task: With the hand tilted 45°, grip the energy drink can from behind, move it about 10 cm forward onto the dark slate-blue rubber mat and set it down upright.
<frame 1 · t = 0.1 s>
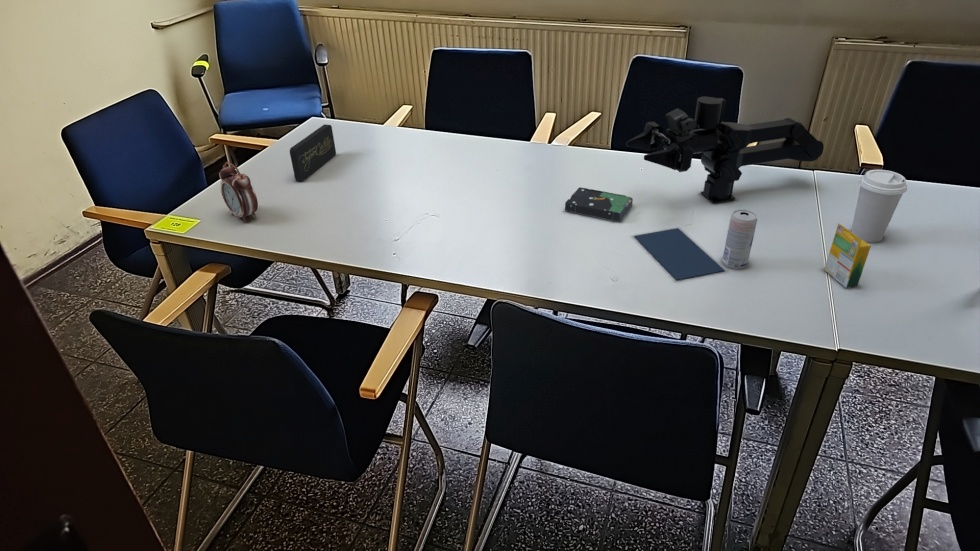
hand: (635, 150, 158), 17 cm above the table, tool horizontal, fingers open, 9 cm apart
alarm clock: (245, 217, 171), on the table
crayon box: (840, 278, 139), on the table
coffee cup: (865, 236, 153), on the table
energy drink: (734, 264, 145), on the table
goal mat: (677, 253, 149), on the table
nameplate: (317, 168, 196), on the table
disk drive: (598, 209, 169), on the table
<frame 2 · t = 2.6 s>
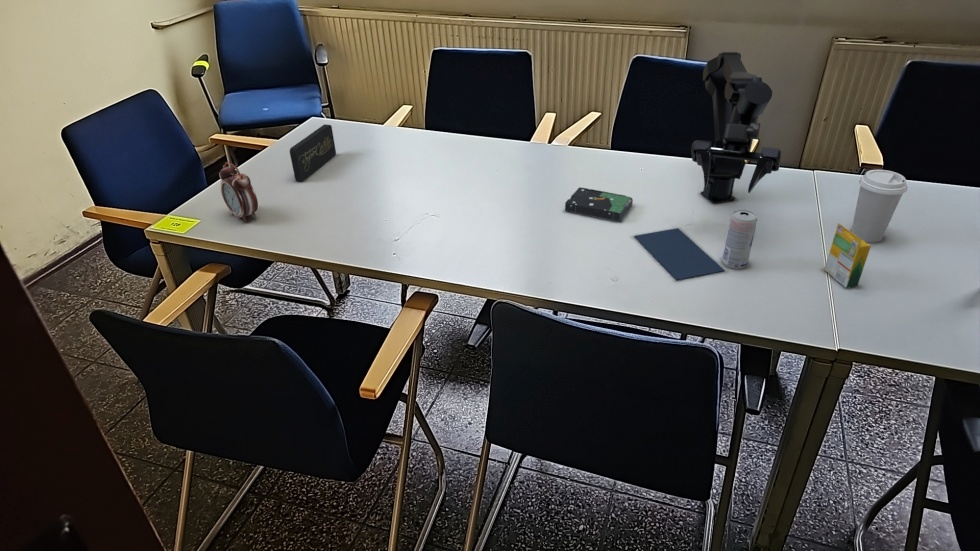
hand: (726, 189, 144), 14 cm above the table, tool tilted 50°, fingers open, 9 cm apart
nothing on the table moved.
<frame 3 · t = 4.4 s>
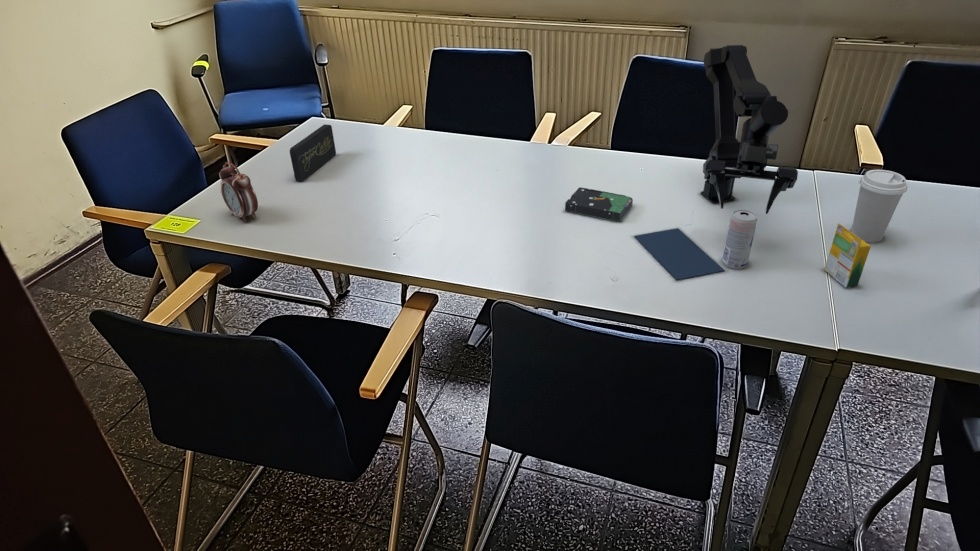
hand: (744, 210, 142), 11 cm above the table, tool tilted 45°, fingers open, 9 cm apart
nothing on the table moved.
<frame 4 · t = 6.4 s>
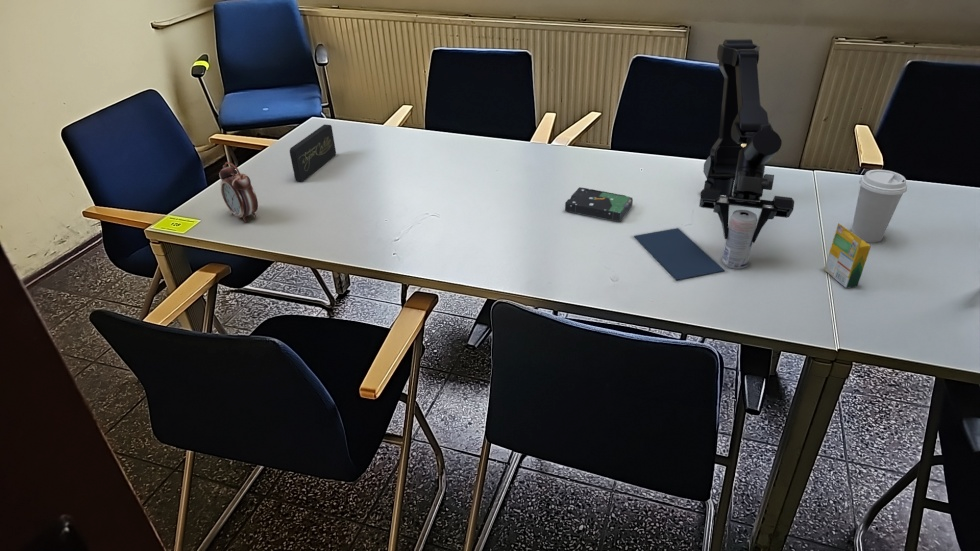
hand: (739, 240, 140), 7 cm above the table, tool tilted 45°, fingers closed on energy drink, 5 cm apart
energy drink: (734, 264, 145), on the table, touching gripper
everything else where it was.
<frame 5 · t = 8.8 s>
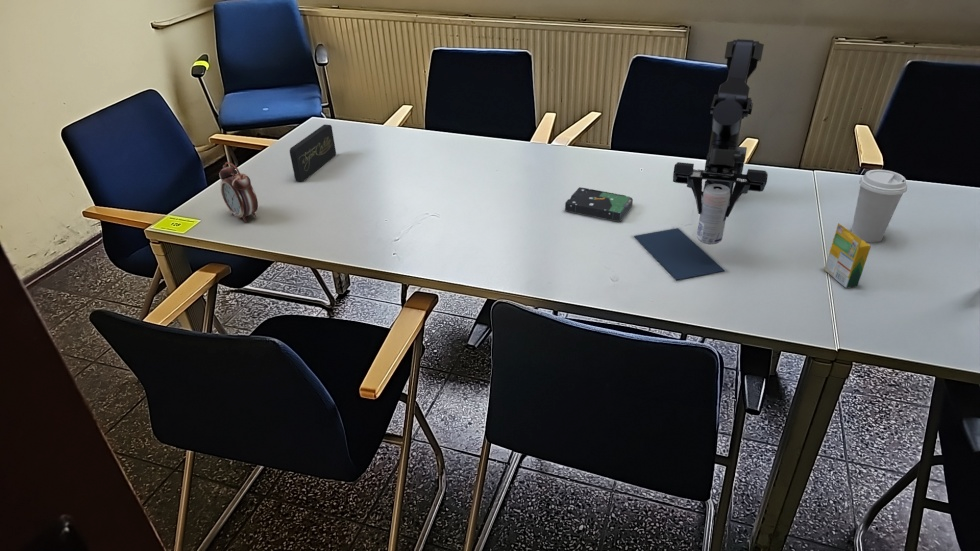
hand: (713, 215, 138), 12 cm above the table, tool tilted 45°, fingers closed on energy drink, 5 cm apart
energy drink: (708, 239, 143), point 6 cm above the table, touching gripper
everything else where it was.
when the fingers open (7 cm above the table, at t = 11.3 s): energy drink stays where it is, resting on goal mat.
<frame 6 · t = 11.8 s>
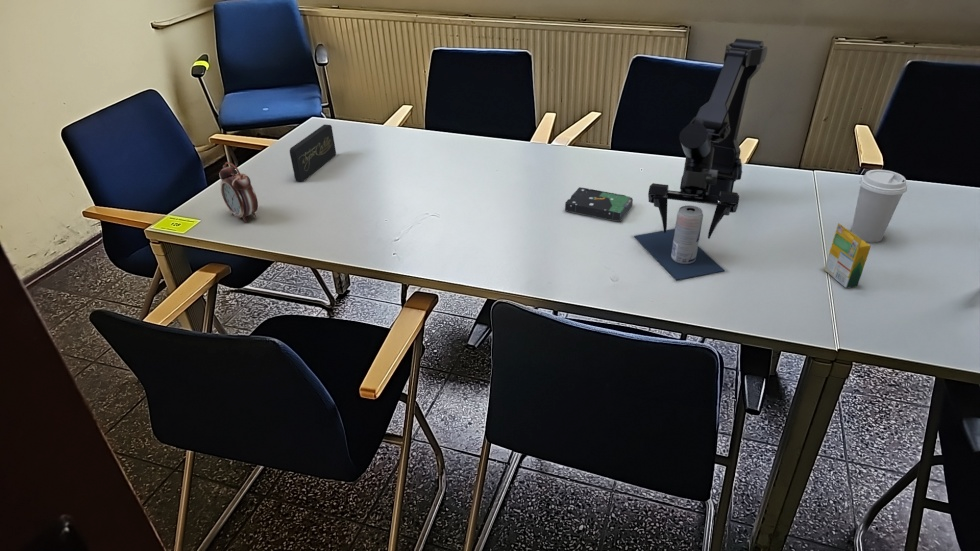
hand: (686, 235, 142), 7 cm above the table, tool tilted 45°, fingers open, 9 cm apart
energy drink: (683, 259, 147), resting on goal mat
everything else where it was.
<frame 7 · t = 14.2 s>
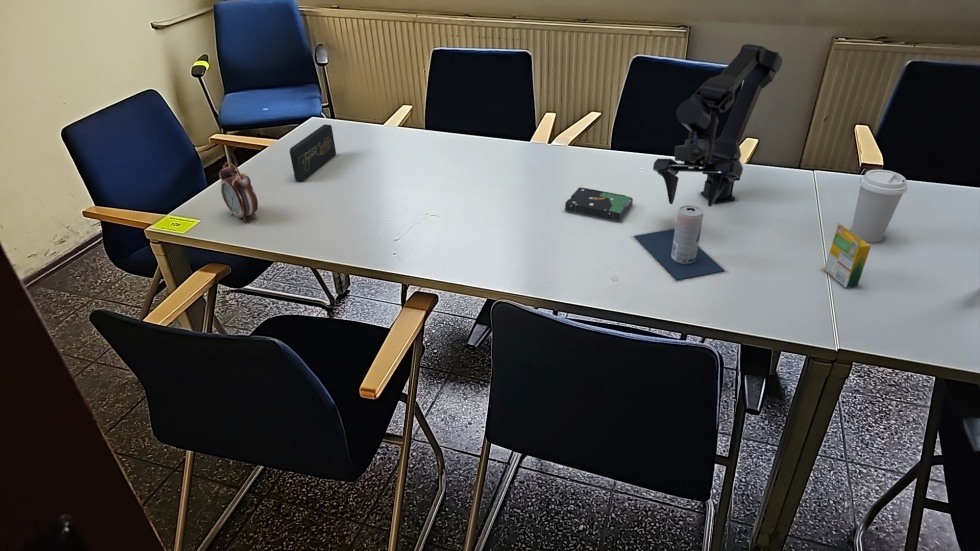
hand: (689, 205, 149), 9 cm above the table, tool tilted 35°, fingers open, 9 cm apart
nothing on the table moved.
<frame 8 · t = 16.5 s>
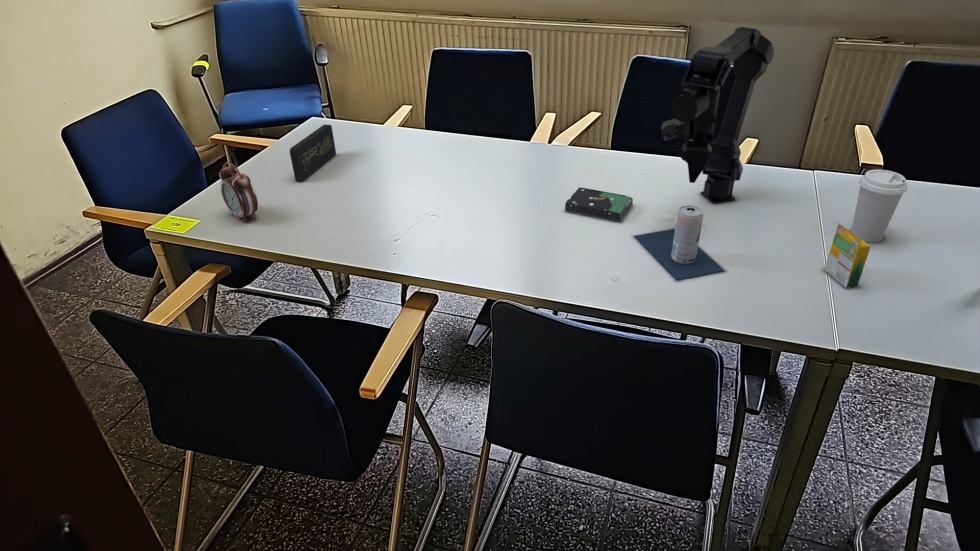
hand: (693, 174, 154), 13 cm above the table, tool pointing down, fingers open, 9 cm apart
nothing on the table moved.
at the end: energy drink 0.1 cm from the target spot, resting on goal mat; energy drink tilted 0°; the gripper is holding nothing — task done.
